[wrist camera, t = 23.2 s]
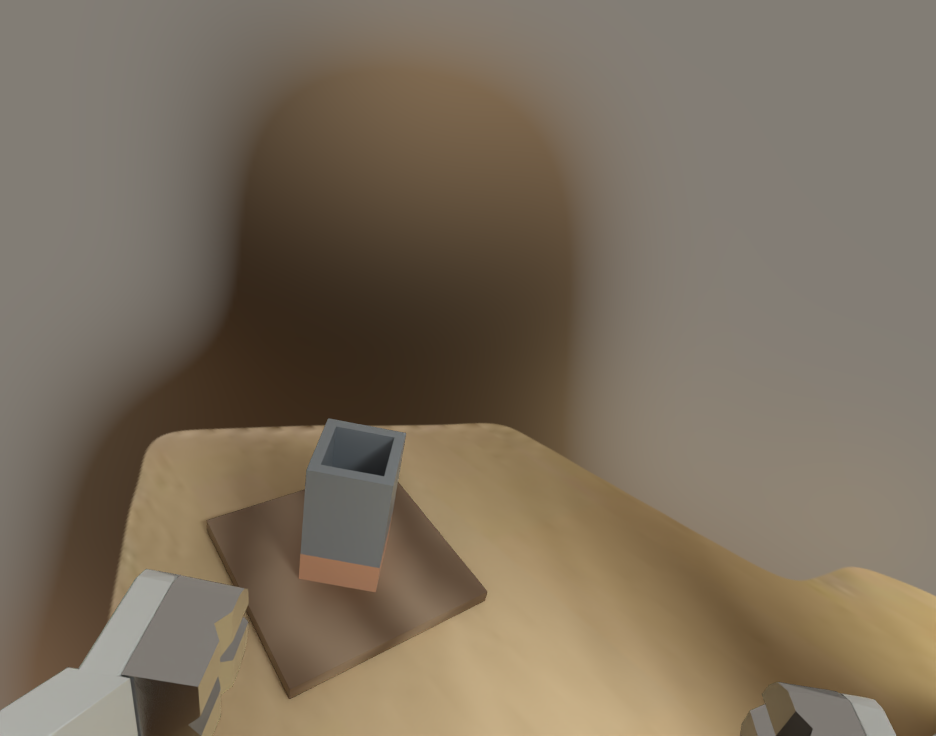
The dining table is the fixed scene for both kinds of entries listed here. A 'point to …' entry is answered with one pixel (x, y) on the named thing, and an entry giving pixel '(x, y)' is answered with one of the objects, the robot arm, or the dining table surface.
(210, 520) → the pin board
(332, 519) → the sleeve
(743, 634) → the dining table surface
